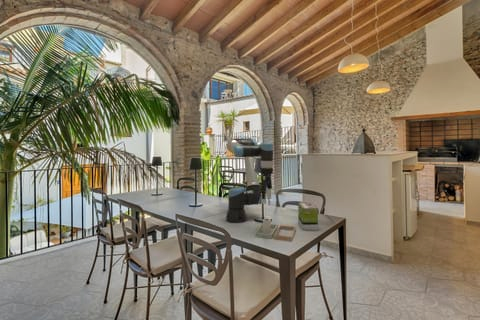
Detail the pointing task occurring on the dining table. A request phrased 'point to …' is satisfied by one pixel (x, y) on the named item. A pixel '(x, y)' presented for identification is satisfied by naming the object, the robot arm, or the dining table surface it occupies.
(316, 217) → the tea box
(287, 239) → the tray
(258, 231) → the tray
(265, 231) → the letter block
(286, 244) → the dining table surface
